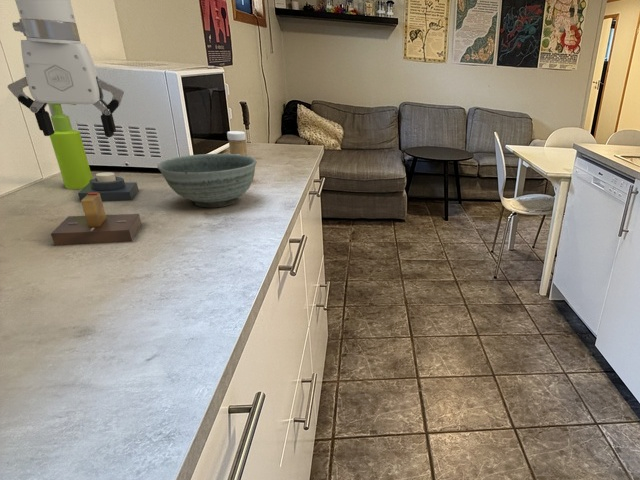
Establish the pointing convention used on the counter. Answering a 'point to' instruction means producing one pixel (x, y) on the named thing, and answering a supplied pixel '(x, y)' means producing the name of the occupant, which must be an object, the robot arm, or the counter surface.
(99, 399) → the counter surface
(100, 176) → the bell button
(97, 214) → the tan wooden block
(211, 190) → the bowl
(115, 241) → the plate
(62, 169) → the soap dispenser
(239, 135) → the sprinkles bottle
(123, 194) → the block
